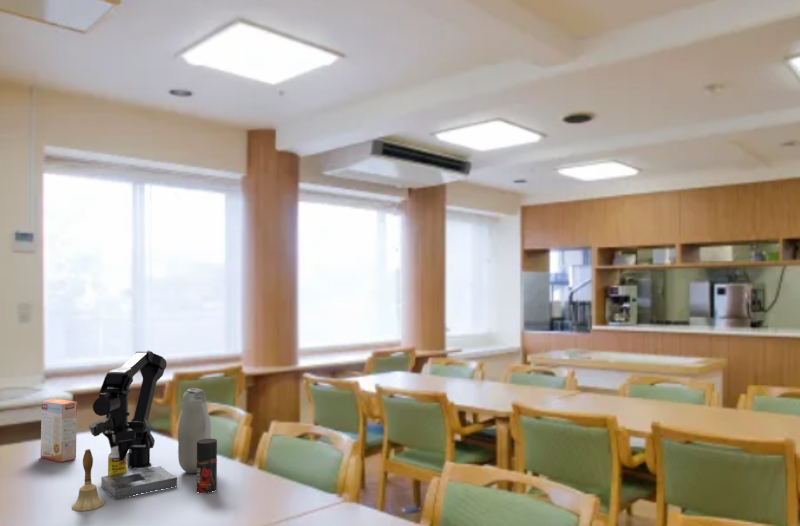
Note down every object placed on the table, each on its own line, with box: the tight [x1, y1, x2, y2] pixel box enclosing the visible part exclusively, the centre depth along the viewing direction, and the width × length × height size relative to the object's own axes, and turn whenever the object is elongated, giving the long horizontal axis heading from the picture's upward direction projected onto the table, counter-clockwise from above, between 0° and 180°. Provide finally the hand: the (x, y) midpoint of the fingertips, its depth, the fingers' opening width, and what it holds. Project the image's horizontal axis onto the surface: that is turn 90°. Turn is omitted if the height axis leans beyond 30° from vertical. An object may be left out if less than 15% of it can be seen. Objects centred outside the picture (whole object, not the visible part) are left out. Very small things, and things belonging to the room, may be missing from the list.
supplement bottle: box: [107, 446, 128, 476], centre depth 200 cm, size 6×6×10 cm
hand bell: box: [71, 448, 105, 512], centre depth 176 cm, size 8×8×16 cm
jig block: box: [100, 465, 178, 501], centre depth 192 cm, size 18×16×3 cm
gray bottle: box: [177, 387, 212, 474], centre depth 208 cm, size 10×10×28 cm
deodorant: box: [196, 438, 218, 494], centre depth 189 cm, size 6×6×15 cm
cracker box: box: [40, 398, 78, 463], centre depth 225 cm, size 14×6×21 cm, turn 58°
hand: (117, 457), depth 201 cm, fingers open, 9 cm apart
